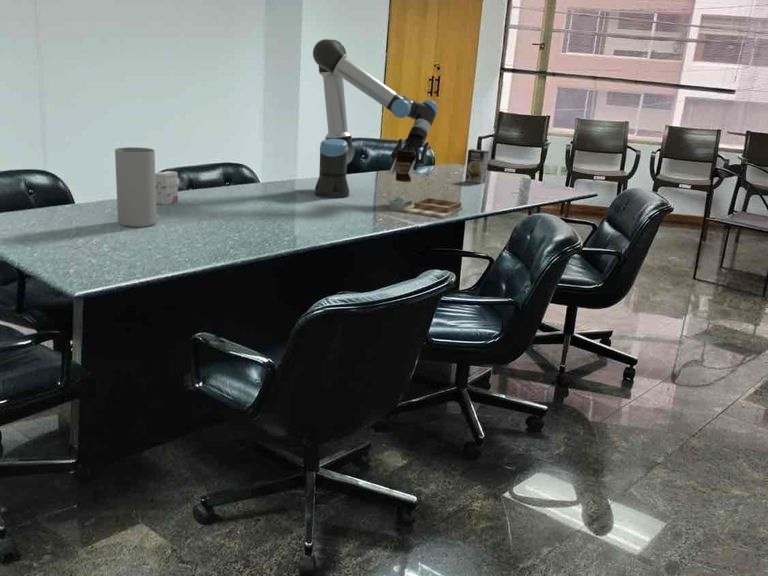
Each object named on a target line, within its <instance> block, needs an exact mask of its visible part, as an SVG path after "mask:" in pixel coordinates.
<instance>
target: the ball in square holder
mask: <svg viewBox="0 0 768 576" xmlns="http://www.w3.org/2000/svg"><path fill="white" fill-rule="evenodd" d="M412 203H413V201H412V200H411V199H406V198H405V202H400V201H396V197H395V198H393V199H390V200H388V209H389V210H392V211H398V210H399V212H402V209H406V208H408V207H411V206H412V205H413V204H412Z"/></svg>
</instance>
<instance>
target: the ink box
mask: <svg viewBox="0 0 768 576" xmlns="http://www.w3.org/2000/svg"><path fill="white" fill-rule="evenodd" d="M178 177H179V176H178V172H177V171H171V170H169V171H168V170H167V171H161V172H157V173H156V172H155V184H156V205H161V206H162V205H163V206H167V205H171V204H173V203H174V204H175V203H177V202H178V201H179V199H178V198H179V197H178V194H179V193H178V191H179V189H178V179H179V178H178Z"/></svg>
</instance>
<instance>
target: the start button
mask: <svg viewBox="0 0 768 576" xmlns="http://www.w3.org/2000/svg"><path fill="white" fill-rule="evenodd" d="M395 198H396V201H400V202H405V199H406V197H405V196H396V197H395Z"/></svg>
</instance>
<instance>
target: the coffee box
mask: <svg viewBox="0 0 768 576" xmlns="http://www.w3.org/2000/svg"><path fill="white" fill-rule="evenodd" d="M489 156H490V151H488V150H482V149H476V148H475V149H474V148H472V149H468V151H467V159H466V160H467V161H466V171H465V179H464V182H467V183H473V182H474V183H473V184H479V183H480V185H482V184H486V183H487V181H486V180H487V174H488V173H487V171H488V163H489ZM485 182H486V183H485ZM481 183H482V184H481Z"/></svg>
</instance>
